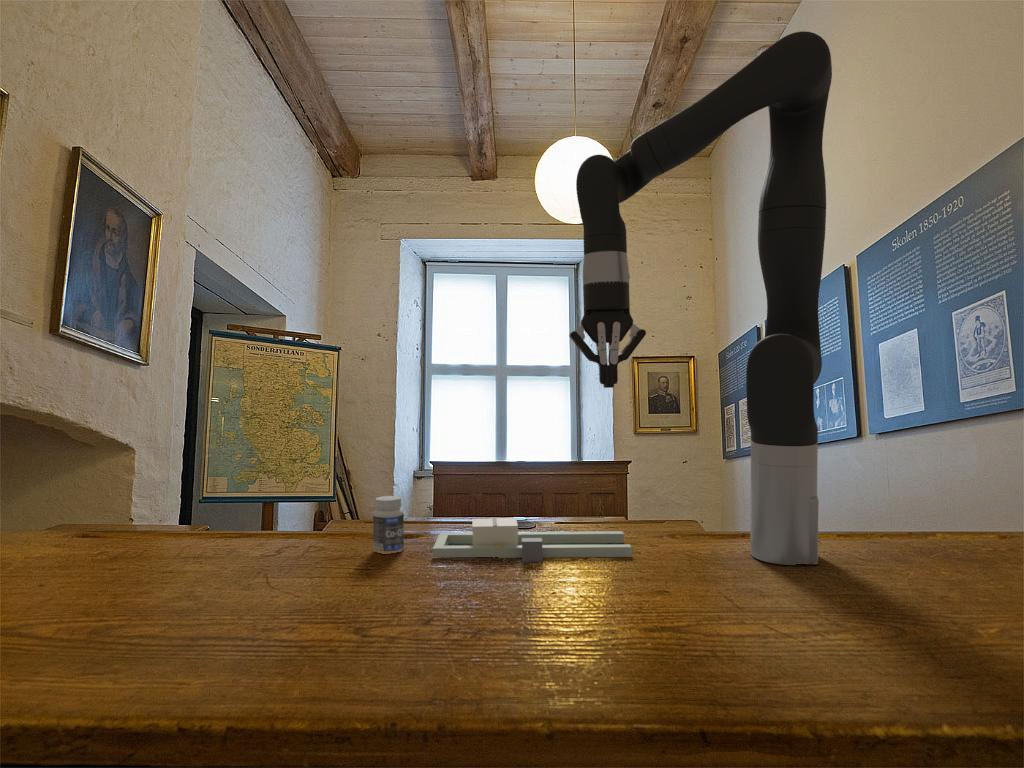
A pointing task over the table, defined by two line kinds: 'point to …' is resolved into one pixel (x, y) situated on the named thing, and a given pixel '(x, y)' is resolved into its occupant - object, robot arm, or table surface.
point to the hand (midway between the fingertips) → (608, 387)
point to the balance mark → (498, 545)
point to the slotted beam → (536, 546)
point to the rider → (495, 531)
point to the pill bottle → (388, 524)
